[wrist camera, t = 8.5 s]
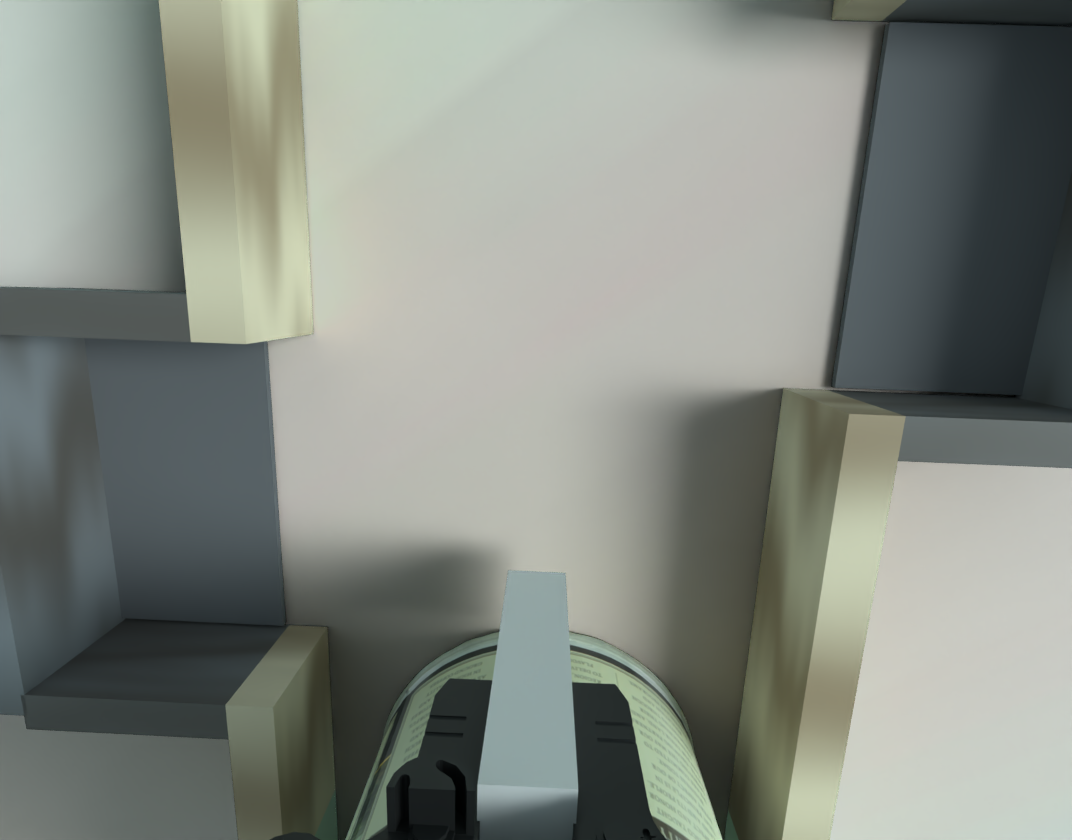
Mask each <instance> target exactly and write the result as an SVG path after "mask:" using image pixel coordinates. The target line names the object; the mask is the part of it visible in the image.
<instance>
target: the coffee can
mask: <svg viewBox="0 0 1072 840" xmlns="http://www.w3.org/2000/svg"><path fill="white" fill-rule="evenodd" d="M498 638H499V632H496V633H492V634H489V635H486V636H483V637H479V638H475V639H471V640H468V641H466V642H464V643H462V644H461V645H459V646H458V647H456V648H454V649H452V650H450V651H448V652H446V653H444V654H443V655H441V656H440V657H438V658H437V659H435V660H434V661H433V662H431V663H430V664H428V665H427V666H426V667H425V668H424V669H422V670H421V671H420V672H419V673H418V674H417V675H416V676H415V677H414V678H413V680H412V681H411V682H410V683H409V684H408V685H407V687H406V688H405V689H404V691H403V692H402V693H401V695H400V696H399V698H398V700H397V701H396V703H395V705H394V706H393V709H392V711H391V713H390V715H389V716H388V720H387V724H386V727H385V730H384V734H383V739H382V744H381V746H380V749H379V752H378V755H377V757H376V760H375V763H374V765H373V768H372V770H371V773H370V776H369V778H368V781H367V784H366V786H365V789H364V792H363V794H362V797H361V800H360V802H359V805H358V808H357V810H356V813H355V816H354V818H353V821H352V824H351V826H350V829H349V831H348V834H347V837H346V839H345V840H368V839H370V838H372V837H374V836H375V835H377V834H378V833H380V832H382V831H383V830H384V829H385V828H386V827H387V799H386V786H387V785H388V783H389V781H390V779H391V777H392V776H393V774H394V772H396V771H397V770H398V769H399V768H400V767H401V766H402V765H404V764H405V763H406V762H407V761H410V760H412V759H414V758H417V757H418V754H419V751H420V747H421V744H422V740H423V736H424V735H425V729H426V726H427V722H428V719H429V715H430V711H431V708H432V704H433V701H434V697H435V695H436V693H437V692H438V691H439V690H440V689H441V688H442V686H443V685H444V684H445V683H446V682H447V681H448V680H449V678H454V679H476V680H493V673H494V666H495V659H496V652H497V645H498ZM569 642H570V658H571V675H572V682H578V683H601V684H616V686H617V687H618V688H619V690H620V691H621V692H622V694H623V695H624V696H625V698H626V699H627V701H628V702H629V706H630V712H631V717H632V722H633V727H634V732H635V737H636V744H637V748H638V753H639V758H640V763H641V768H642V773H643V779H644V784H645V789H646V794H647V799H648V804H649V809H650V812H651V815H652V818H653V821H654V823H655V824H656V826H657V828H658V829H659V831H660V832H661V833H662V835H663V836H664V837H665V838H666V839H667V840H723V839H722V836H721V833H720V830H719V827H718V825H717V821H716V818H715V814H714V810H713V807H712V805H711V802H710V798H709V796H708V793H707V790H706V787H705V784H704V781H703V777H702V774H701V771H700V768H699V765H698V762H697V759H696V756H695V751H694V745H693V741H692V736H691V733H690V730H689V727H688V723H687V721H686V718H685V716H684V714H683V712H682V710H681V708H680V707H679V705H678V704H677V702H676V700H675V699H674V697H673V696H672V695H671V693H670V692H669V690H668V689H667V688H666V686H665V685H664V684H663V683H662V682H661V681H660V680H659V679H658V678H657V677H656V676H655V675H654V674H653V673H652V672H651V671H650V670H649V669H647V668H646V667H645V666H644V665H642V664H641V663H640V662H639V661H637V660H636V659H634V658H633V657H631V656H630V655H628V654H626V653H625V652H623V651H621V650H620V649H618V648H616V647H614V646H612V645H610V644H608V643H606V642H604V641H602V640H599V639H596V638H593V637H590V636H586V635H581V634H575V633H572V632H569Z"/></svg>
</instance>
